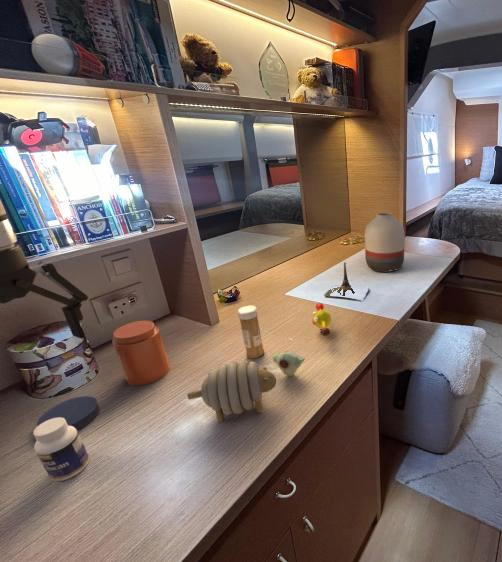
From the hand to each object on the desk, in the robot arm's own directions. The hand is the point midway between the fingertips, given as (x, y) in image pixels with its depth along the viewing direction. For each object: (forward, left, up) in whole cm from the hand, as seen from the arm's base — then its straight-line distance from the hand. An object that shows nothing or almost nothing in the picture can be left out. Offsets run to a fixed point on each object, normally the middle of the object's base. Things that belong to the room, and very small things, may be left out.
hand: (38, 355), depth 64 cm
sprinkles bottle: (+26, +28, -16) cm, 42 cm away
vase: (+49, +98, -16) cm, 111 cm away
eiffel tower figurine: (+40, +69, -16) cm, 82 cm away
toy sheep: (+33, +9, -16) cm, 38 cm away
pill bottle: (+12, -9, -16) cm, 22 cm away
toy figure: (+40, +42, -16) cm, 60 cm away
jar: (+4, +16, -16) cm, 23 cm away
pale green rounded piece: (+39, +21, -16) cm, 47 cm away
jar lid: (0, 0, -15) cm, 14 cm away
